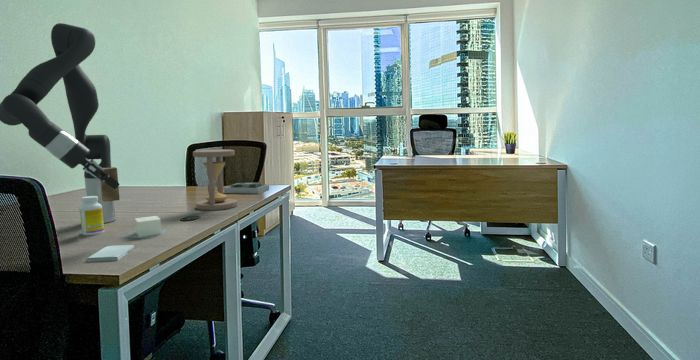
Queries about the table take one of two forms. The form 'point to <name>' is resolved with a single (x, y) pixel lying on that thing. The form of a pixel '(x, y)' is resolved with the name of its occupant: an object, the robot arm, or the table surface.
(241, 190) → the grey organizer frame
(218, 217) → the table surface
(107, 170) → the walnut pillar
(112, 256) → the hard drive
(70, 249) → the table surface
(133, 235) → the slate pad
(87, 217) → the supplement bottle
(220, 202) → the hourglass
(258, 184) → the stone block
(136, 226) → the cream block
